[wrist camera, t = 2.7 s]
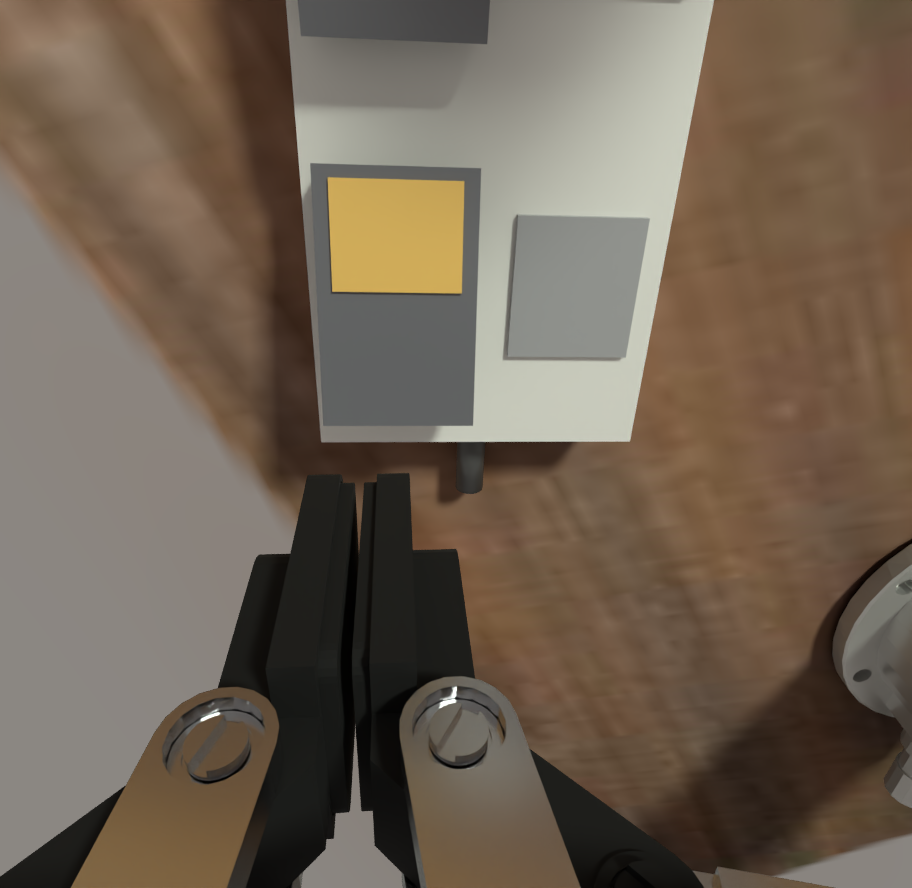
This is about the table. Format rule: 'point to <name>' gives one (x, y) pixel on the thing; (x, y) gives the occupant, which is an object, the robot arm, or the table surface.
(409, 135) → the power strip
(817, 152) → the table surface
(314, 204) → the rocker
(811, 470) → the table surface
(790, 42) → the table surface
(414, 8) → the middle rocker
